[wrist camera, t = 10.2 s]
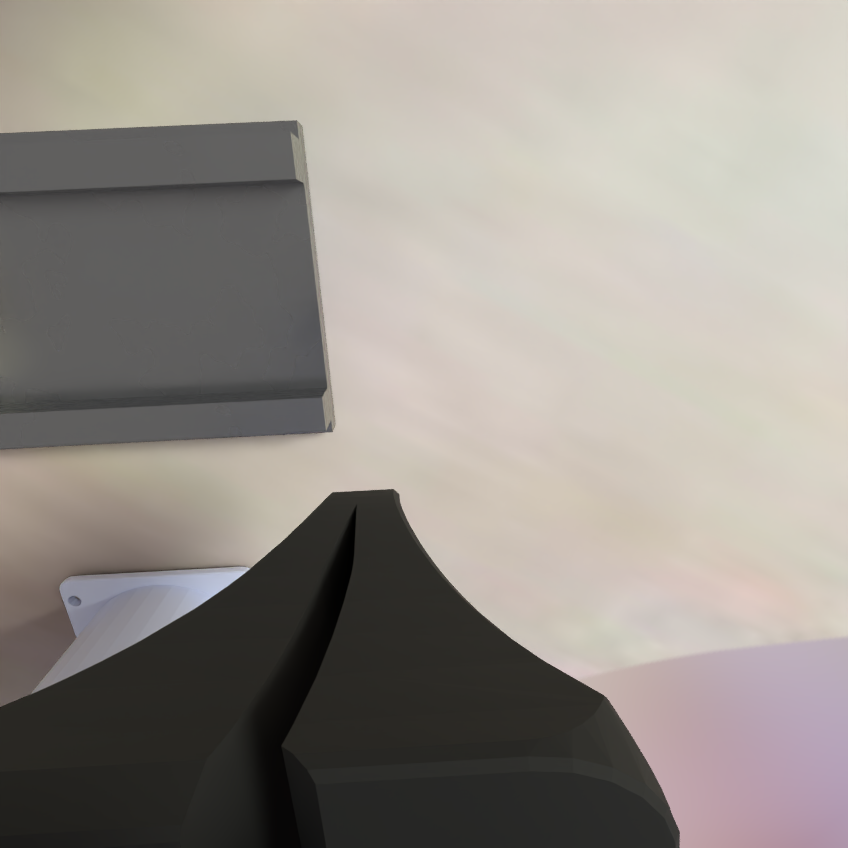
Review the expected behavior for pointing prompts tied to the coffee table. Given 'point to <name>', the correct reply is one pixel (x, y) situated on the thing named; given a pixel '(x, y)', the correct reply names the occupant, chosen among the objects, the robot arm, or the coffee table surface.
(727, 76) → the coffee table surface
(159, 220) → the chute
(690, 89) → the coffee table surface
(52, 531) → the coffee table surface
